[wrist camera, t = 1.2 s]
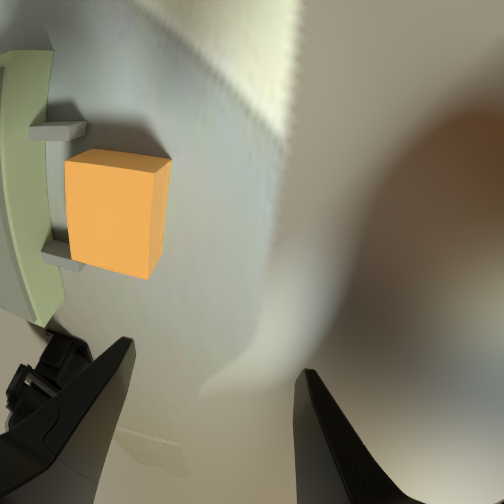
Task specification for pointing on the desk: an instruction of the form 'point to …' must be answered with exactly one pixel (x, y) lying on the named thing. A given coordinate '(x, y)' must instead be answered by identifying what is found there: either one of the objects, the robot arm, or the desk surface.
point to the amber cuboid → (117, 209)
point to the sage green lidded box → (29, 189)
